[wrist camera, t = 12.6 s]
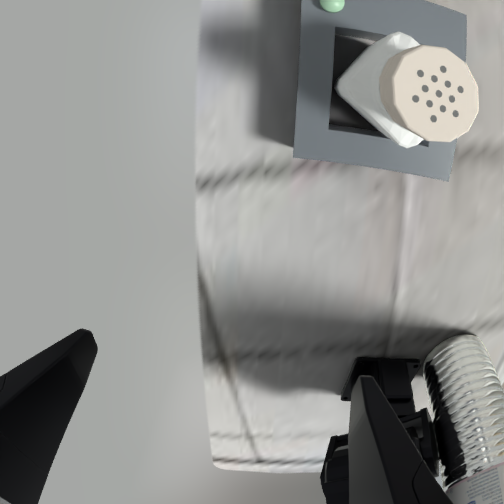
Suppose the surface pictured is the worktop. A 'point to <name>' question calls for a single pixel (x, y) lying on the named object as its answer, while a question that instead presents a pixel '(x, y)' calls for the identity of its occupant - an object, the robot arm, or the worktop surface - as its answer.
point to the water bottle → (467, 419)
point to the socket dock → (321, 72)
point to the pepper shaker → (411, 90)
